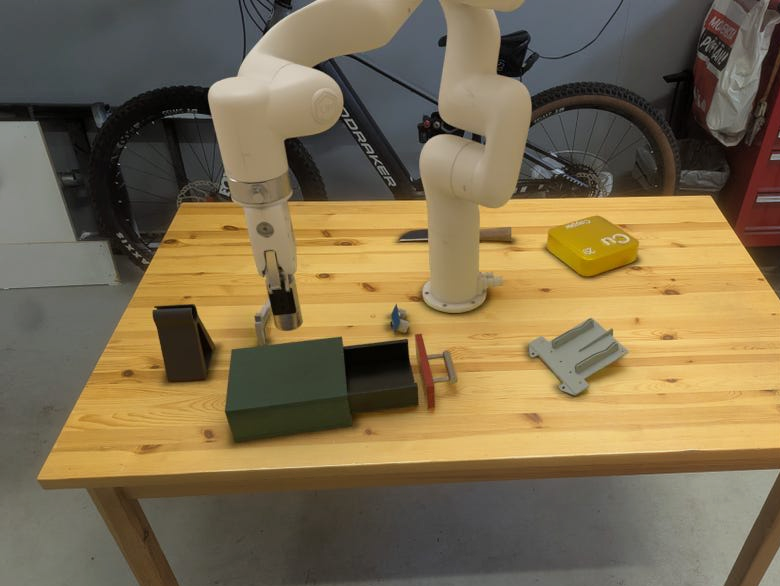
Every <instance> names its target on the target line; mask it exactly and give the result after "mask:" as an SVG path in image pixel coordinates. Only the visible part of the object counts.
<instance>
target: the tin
mask: <svg viewBox="0 0 780 586" xmlns="http://www.w3.org/2000/svg"><path fill="white" fill-rule="evenodd" d="M279 277H280V280H283V282H284V279H283V276H279ZM288 280H289V286H290V288H292V290H293V295H294V301H295V306H296V313H294V314H286V315H277V316H275V315H273V313H272V312H271V314H272V318H273V323H274V327H275V328H276V329H277V330H279V331H282V332H291V331H295V330H297V329H299V328H300V327H302V324H303V322H304V320H303V314H302V309H301V304H300V299H299V293H298V288H297V287H298V286H297V282H296V278H295V275H294V274H293V275H292V274H288ZM264 281H265V282H264V283H265V287H266V292H267V293H268V286H267V280H266V279H265V280H264ZM267 296H268V297H269V295H268V294H267ZM269 301H270V299H269ZM270 305H271V304H270ZM271 310H272V308H271Z"/></svg>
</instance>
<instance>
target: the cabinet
mask: <svg viewBox="0 0 780 586" xmlns="http://www.w3.org/2000/svg"><path fill="white" fill-rule="evenodd" d="M343 346H344V340H343V336H342V335H341V336H333V337H325V338H317V339H308V340H299V341H290V342H282V343H273V344H266V345H264V346H259V345H257V346H247V347H239V348H231V350H230V358H229V359H230V360H229V367H228V368H229V369H228V377H227V378H228V379H227V387H226V398H225V405H224V413H225V417H226V420H227V423H228V426H229V429H230V432H231V435H232V438H233V442H234V443H242V442H249V441H255V440H261V439H270V438H277V437H285V436H292V435H299V434H305V433H306V434H307V433H313V432H319V431H326V430H327V431H328V430H335V429H341V428H349V427H353V419H352V415H351V413H350V407H349V401H348V393H347V382H346V372H345V361H344V350H343Z"/></svg>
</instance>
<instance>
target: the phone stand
mask: <svg viewBox="0 0 780 586" xmlns="http://www.w3.org/2000/svg"><path fill="white" fill-rule="evenodd" d="M153 307H154V309H152V313H151V314H152V320H153V322H154V326H155V327H156V332H157V336H158V341H159V346H160V351H161V355H162V359H163V365H164V370H165V374H166V375H165V376H166V380H167V382H170V383H171V382H172V383H173V382H186V381H201V380H206V379H207V376H208V372H209V369H210V366H211V362H212V359H213V356H214V353H215V349H216V344H215V342H214V341H213V339H212V337H211V336H210V333H209V332H208V330H207V328H206V327H205V325H204V323H203V321H202V320H201V317H200V316H199V313H198V308H197V306H196V304H194V303H190V304H189V303H186V304H167V305H154V306H153Z"/></svg>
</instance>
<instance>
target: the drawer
mask: <svg viewBox="0 0 780 586" xmlns="http://www.w3.org/2000/svg"><path fill="white" fill-rule="evenodd" d="M414 344H415V345H414V347H415V357H416V363H417V367H418V371H419V376H420V381H421V384H422V385H421V386H422V389H423V393H424V397H425V402H426V403H425V404H426V407H427V409H435V408H436V391H435V384H440V383H448V382H449V383H450V384H452V385H454V384H457V383H458V381H459V378H458V375H457V371H456V368H455V364H454V361H453V358H452V353H451V351H450V350H447V349H446V350H443V351H442V353H435V354H427V349H426V346H425V341H424V337H423V333H415V334H414ZM343 350H344V361H345V372H346V382H347V393H348V401H349V407H350V413H351V416H352V415H358V414H367V413H375V412H381V411H388V410H395V409H402V408H410V407H417V406H419V405H420V403H419V402H420V401H419V385H418V382H415V378H414V372H413V369H412V368H413V367H412V364H411V359H410V347H409V339H408V338H404V339H395V340H385V341H377V342H369V343H359V344H352V345H343ZM440 359H443V363H444V366H445V370H446V374H447V376H443V377H435V378H433V373H432V370H431V366H430V361H432V360H440Z"/></svg>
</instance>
